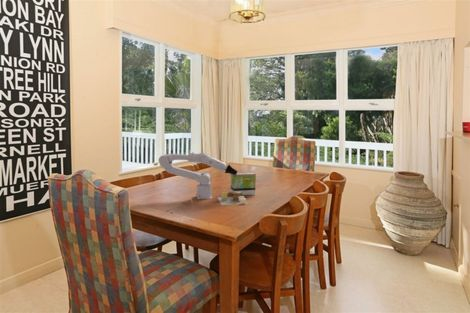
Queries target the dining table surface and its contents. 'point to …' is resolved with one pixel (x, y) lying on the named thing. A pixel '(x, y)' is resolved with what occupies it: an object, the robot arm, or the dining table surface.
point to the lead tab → (224, 196)
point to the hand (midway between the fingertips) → (236, 173)
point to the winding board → (228, 202)
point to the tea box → (243, 183)
